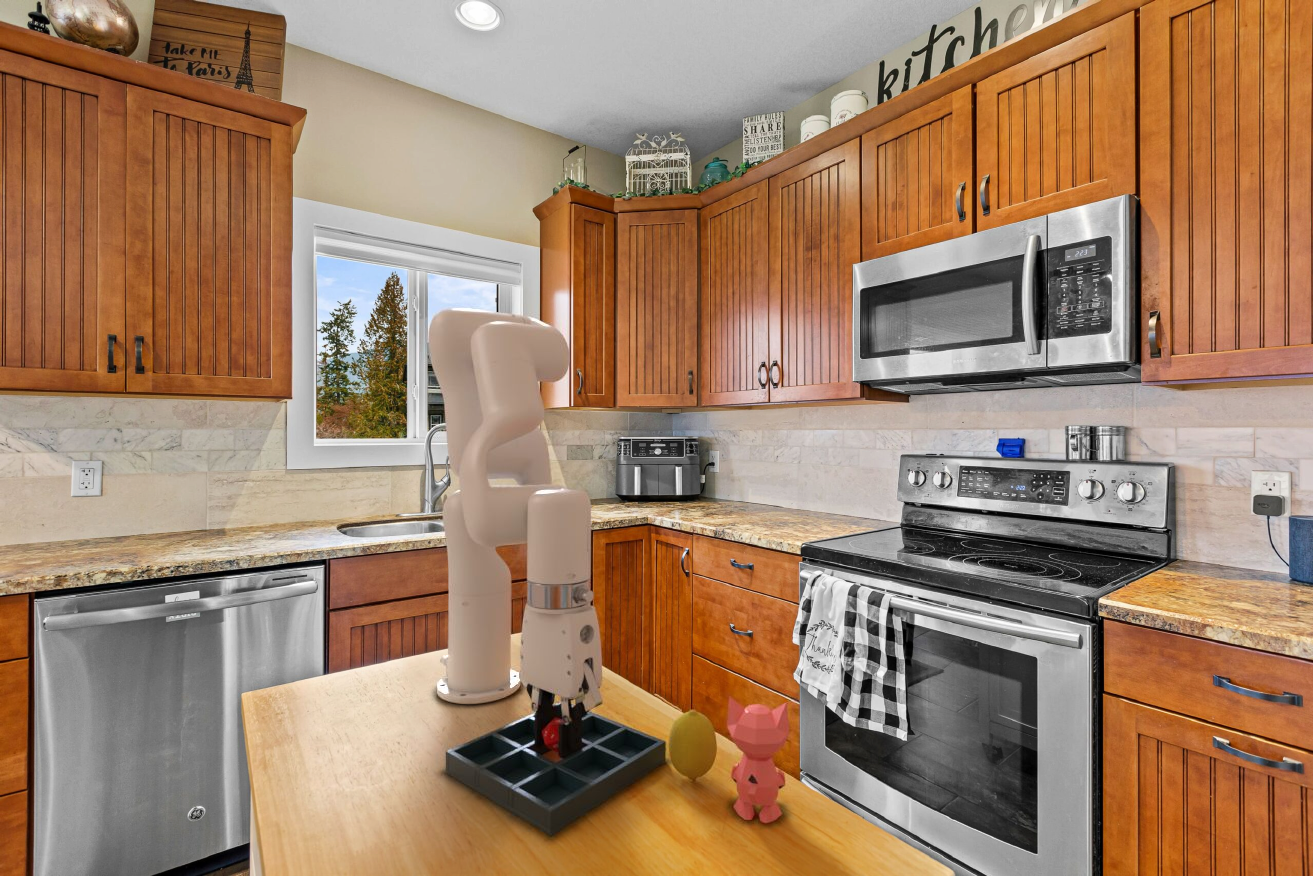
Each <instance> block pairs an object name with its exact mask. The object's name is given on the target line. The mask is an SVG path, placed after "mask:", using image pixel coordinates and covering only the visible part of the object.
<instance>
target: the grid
mask: <svg viewBox="0 0 1313 876" xmlns="http://www.w3.org/2000/svg"><path fill="white" fill-rule="evenodd" d="M553 705H557V706H558V718H559V719H561V720H562V709H561V701H559V702H557V703H554V704H553ZM575 705H576V704H572V703H571V706H572V708H573V707H574V706H575ZM535 713H536V712H533V713H531V714H528V715H526V716H524V717H522V718H520V719H518V720H515V721H512V722H511V723H508V724H505V725H503V726H501V727H498V728H497V729H494V730H492V731H490V732H486V733H485V734H482V735H480V736H478V737H476V738H473V739H470V740H469V741H466V742H464V743H462V744H460V745H457V746H455V747H453V748H451V749H448V750H446V751H445V769H444V770H445V771H444V772H445V773H446V774H447V775H449V776H450V777H452V778H454V779H455V780H457V781H458V782H460V783H461V784H464V785H465V786H466V787H469V788H470V789H472V790H473V791H475V792H477V793H478V794H480V795H481V796H482V797H485V798H486V799H488V800H490V801H491V802H493V803H494V804H496V805H498V806H499V807H501V808H502V809H504V810H506V811H507V812H509V813H510V814H513V815H514V816H516V817H517V818H519V819H521V820H523V821H525V822H526V823H527V824H529V825H531V826H532V827H534V828H535V829H537V830H539V831H541V832H542V833H544V834H546V835H547V836H549V837H552V836H554V835H556V834H557V833H559V832H561V831H562V830H563V829H565V828H566V827H568V826H569V825H571V824H572V823H574V822H576V821H577V820H579V819H580V818H582V817H583V816H585V815H586V814H588V813H589V812H591V811H592V810H594V809H596V808H597V807H599V806H600V805H601V804H603V803H605V802H606V801H608V800H610V799H611V798H612V797H614V796H615V795H617V794H619V793H620V792H621V791H623V790H625V789H626V788H628V787H629V786H630V785H632V784H634V783H635V782H637V781H638V780H640V779H642V778H644V776H646V775H648V774H649V773H651V772H652V771H654V770H655V769H657V768H659V767H660V766H662V765H663V764H664V763H666V762H667V754H666V753H667V741H666V740H663V739H661V738H658V737H656V736H654V735H650V734H648V733H647V732H646V733H645V732H643V731H640V730H638V729H635V728H633V727H630V726H628V725H625V724H623V723H620V722H618V721H615V720H613V719H611V718H608V717H605V716H603V715H600V714H597V713H594V712H593V711H591V710H590V711H589V712H588V713H587V714H586V716H585V717H584V718H582V748H581V750H579V751H577V752H575V753H573V754H571V755H569V756H567V757H566V758H564V759H562V758H560V757H559V755H558V752H556V751H553V750H551V749H549V748H547V746H546V745H543V746H541V747H537V746H535V745H534V726H535Z"/></svg>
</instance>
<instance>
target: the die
mask: <svg viewBox="0 0 1313 876" xmlns="http://www.w3.org/2000/svg"><path fill="white" fill-rule="evenodd" d="M561 722H563V720H561V719H559V718H556V717H555V718H554V719H553V720H552V721H551V722H550V723H549V724H548V725H547V726H546V727H545V728H544V729H543V730H542V734H543V738H544V742H545V745H546V746H547V748H549V749H551V750H553V751H556V752H558V739H559V723H561Z"/></svg>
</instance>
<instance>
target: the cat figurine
mask: <svg viewBox="0 0 1313 876" xmlns="http://www.w3.org/2000/svg"><path fill="white" fill-rule="evenodd" d="M789 725H790V724H789V713H788V703H787V701H786V702H784V703H783V704H781V705H779V706H777V707H775V708H774V709H772V710H771V709H770V708H769V707H768V706H767V705H763V704H760V703H756V704H749V705H747V706H746V707H744V706H743V705H742V704H740V703H739V702H738V701H736V699H734V698H733V697H732V696H730V695H729V697H728V709H727V722H726V728H727V731H728V732H729V733H728V734H727V736H730V738H731V739H732V742H733V743H734V744H735V746H736V748H737V749H738V750H739V751H741V753H742V756H741V759H740V761H739V762H737V763H736V764H734V765H733V766H732V770H731V775H730V778H731V779H732V780H733V781H734V782H735V783H736V792H737V795H738V798H737V799H736V800H735V803H733V808H734V810H735V812H736V813H737V814H738V816H739V817H740V818H742V819H743V820H745V821H752V820H753V818H754V816H755V815H756V814H755V810H754V807H753V805H754V806H762V808H761V810H760V812H759V814H758V816H759V821H760V822H761V823H764V824H769V823H772V822H775V821H776V820H777V819H779V817H781V816H782V815H783V812H782V809H781V807H780V805H779V803H778V802H776V800H777V798H778V797H779V790H780V789H782V788H783V787H784V786H786V777H785V773H784V771H782V770H781V769H780V768H778V769H777V768H776V765H775V762H774V759H773V755H775V754H776V753H777V752H778V751H780V750H781V749H782V748H783V747H784V746H785V743H786V741H787V742H789V743H791V741H790V740H789V739H788V737H789V735H790V732H791V731H792V730H790V726H789Z"/></svg>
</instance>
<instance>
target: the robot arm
mask: <svg viewBox="0 0 1313 876" xmlns="http://www.w3.org/2000/svg"><path fill="white" fill-rule="evenodd" d="M427 343H428V351H429V352H428V353H429V359H430V362H431V366H432V370H433V373H434V375H435V378H436V381H437V383H438V385H439V388H440V391H441V394H442V399H443V406H444V419H445V430H446V431H445V432H446V444H447V445H446V446H447V455H448V462H449V466H450V469H451V471H452V473H453V474H454V475H455V476H456V477H458V487H459V489H458V490H456V491H454V492H452V493H451V494H449V496H448V497H446V499H445V501H444V503H443V506H442V524H443V530H444V536H445V537H444V538H445V543H446V552H447V567H448V569H447V574H448V576H447V577H448V583H447V585H448V586H447V587H448V601H447V602H448V603H447V604H448V605H447V606H448V610H447V611H448V613H447V614H448V615H447V617H448V619H447V623H448V624H447V631H448V632H447V655H443V656H442V657H441V658H440V659H439V664H440V665H442V666H444V667H445V676H443V677H442V678H441V679H439V681H438V682H437V684H436V694H437V696H438V697H439V698H440V699H442V700H444V701H446V702H448V703H454V704H458V705H459V704H461V705H477V704H484V703H485V704H486V703H490V702H491V703H492V702H494V701H498V700H502V699H504V698H507V697H509V696H511V695H512V694H514V693H516V692H517V690H519V688H520V687H521V684H522V685H523V686H524V688H525V689H526V692H527V695H528V696H529V698H530V708H531V711H533V713H535V726H534V745H535V746H537V747H541V746H543V745H545V742H544V738H543V734H542V730H543V729H544V728H545V727H546V726H547V725H548V724H549V723H550V722H551V721H552V720H553V719H554V718H555V717H556V718H558V706H557V705H554V704H555V699H556V696H558V697H560V702H561V709H562V720H563V722H561V723H559V739H558V755H559V757H560V758H562V759H564V758H566V757H567V756H569V755H571V754H573V753H575V752H577V751H579V750H581V748H582V718H584V717H585V716H586V714H587V713H588V712H589V711H590V712H591V710H592V709H595V708H597V707H599V706H601V705H602V704H603V702H604V700H603V697H602V694H601V692H600V688H601V687H602V684H603V657H602V642H601V633H600V625H599V620H598V614H597V609H596V607H595V606H593V605H591V602H592V601H593V599H594V596H595V595H594V592H593V590H591V588H592V587H591V586H592V584H591V583H592V582H591V579H592V578H591V575H592V572H591V569H592V567H591V566H592V501H591V499H590V496H589V495H588V494H587V493H586V492H584V491H582V490H576V489H568V488H567V487H566V486H564V485H560V484H553V479H552V469H551V459H550V453H549V445H548V442H547V438H546V436H545V435H544V432H543V431H542V430H541V428H539V426H540V425H541V424H542V423H543V422H544V420H545V417H546V416H545V415H546V414H545V413H546V412H545V411H546V410H545V406H544V402H543V399H542V398H543V397H542V393H541V390H540V385H539V382H540V383H541V382H542V383H557V382H559V381H561V380H562V379H563V378H564V377H565V376H566V375H567V372H568V370H569V366H570V360H571V358H570V349H569V344H568V342H567V340H566V338H565V337H564V335H563V334H562V332H561V330H559V329H558V328H556V327H554V326H552V325H550V324H548V323H546V322H544V321H541V320H540V319H537V318H535V317H532V316H527V315H521V314H512V313H505V312H499V311H498V312H497V311H492V310H484V309H477V308H465V307H452V308H446V309H442V310H440V311H438V312H437V313H435V315H434V316H433V317H432V319H431V321H430V323H429V328H428V341H427ZM501 479H502V480H503V479H505V480H509V479H514V480H515V482H516V484H515V485H491V484H490V482H489V480H501ZM526 544H527V545H526ZM513 545H514V546H515V545H526V546H527V547H526V603H525V607H524V612H523V618H522V625H521V635H520V648H519V649H520V650H519V651H520V652H519V666H520V670H519V672H517V671H516V670H513V669H512V574H511V571H510V567H509V566H508V565H507V563H506V562H505V560H504V559H503V558H502V557H501V555H499V554H498V552H497V550H496V549H497V548H499V547H504V546H513ZM572 701H574V703H575V704H574V705H575V706H574V707H573V708H572V706H571V704H572Z"/></svg>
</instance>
